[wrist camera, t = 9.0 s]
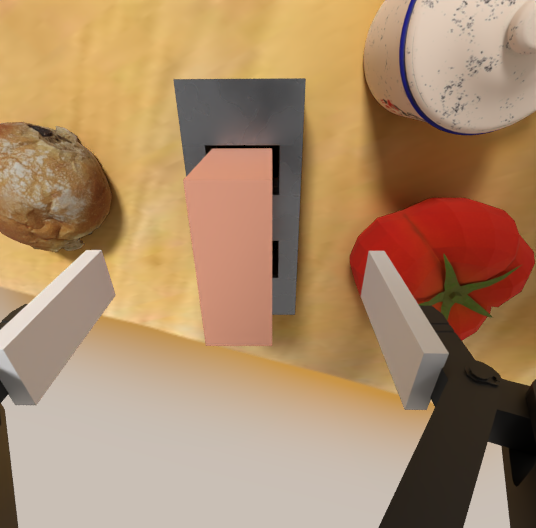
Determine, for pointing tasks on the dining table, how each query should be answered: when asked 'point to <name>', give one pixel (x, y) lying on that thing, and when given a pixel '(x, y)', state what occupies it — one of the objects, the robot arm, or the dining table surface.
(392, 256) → the tomato
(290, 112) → the grey rectangular block
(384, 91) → the teacup with lid
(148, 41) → the dining table surface
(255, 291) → the chamfered pink post
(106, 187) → the bread roll
